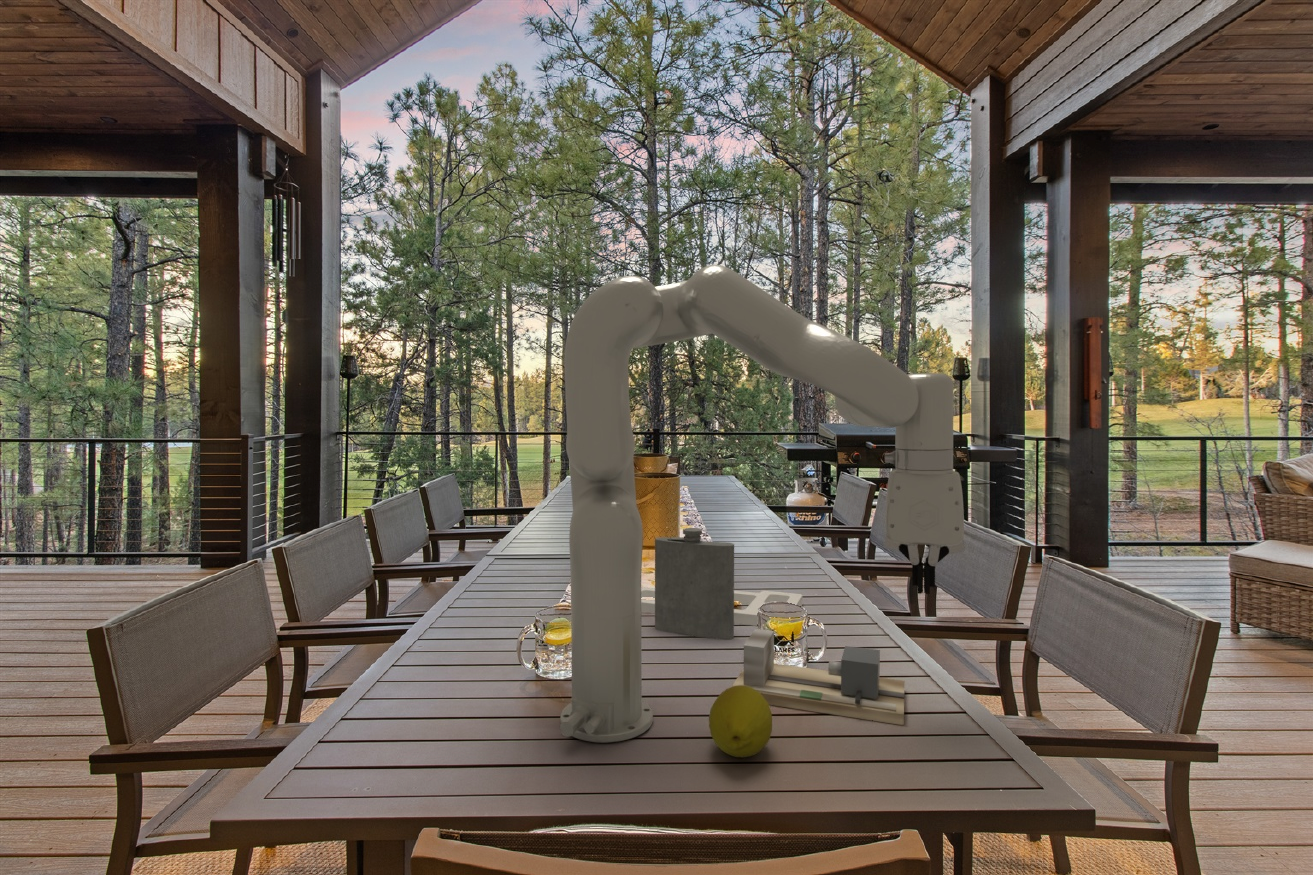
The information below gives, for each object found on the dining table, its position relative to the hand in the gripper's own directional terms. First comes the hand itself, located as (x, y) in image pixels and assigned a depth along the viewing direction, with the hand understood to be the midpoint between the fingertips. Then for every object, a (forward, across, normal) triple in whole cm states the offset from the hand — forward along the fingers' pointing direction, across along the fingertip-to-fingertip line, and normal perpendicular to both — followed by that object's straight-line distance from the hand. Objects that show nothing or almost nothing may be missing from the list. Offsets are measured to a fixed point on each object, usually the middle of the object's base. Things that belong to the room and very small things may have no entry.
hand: (923, 591), depth 96 cm
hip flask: (+17, -41, +20) cm, 48 cm away
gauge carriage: (+15, -9, -2) cm, 18 cm away
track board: (+17, -14, 0) cm, 22 cm away
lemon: (+17, -22, -21) cm, 35 cm away
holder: (+17, -46, +37) cm, 62 cm away
